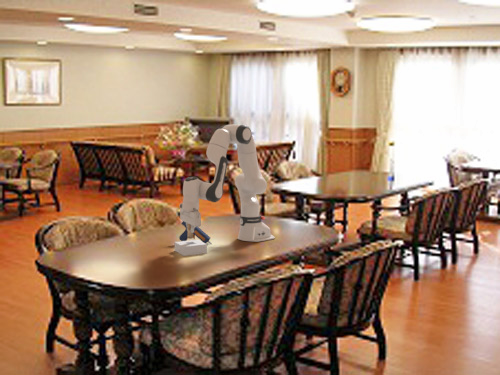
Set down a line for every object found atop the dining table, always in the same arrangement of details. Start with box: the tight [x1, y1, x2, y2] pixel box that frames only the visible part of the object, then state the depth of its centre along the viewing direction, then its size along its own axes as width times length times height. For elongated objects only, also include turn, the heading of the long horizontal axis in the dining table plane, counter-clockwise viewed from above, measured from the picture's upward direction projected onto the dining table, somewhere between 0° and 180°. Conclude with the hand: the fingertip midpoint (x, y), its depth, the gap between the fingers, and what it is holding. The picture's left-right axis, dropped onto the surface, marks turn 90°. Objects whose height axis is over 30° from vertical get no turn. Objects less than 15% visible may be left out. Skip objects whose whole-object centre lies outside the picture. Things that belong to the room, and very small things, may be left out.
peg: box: [187, 224, 194, 240], centre depth 364 cm, size 3×3×10 cm
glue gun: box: [178, 215, 212, 245], centre depth 387 cm, size 5×25×12 cm
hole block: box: [174, 239, 208, 257], centre depth 365 cm, size 14×12×5 cm
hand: (190, 231), depth 364 cm, fingers closed on peg, 3 cm apart
